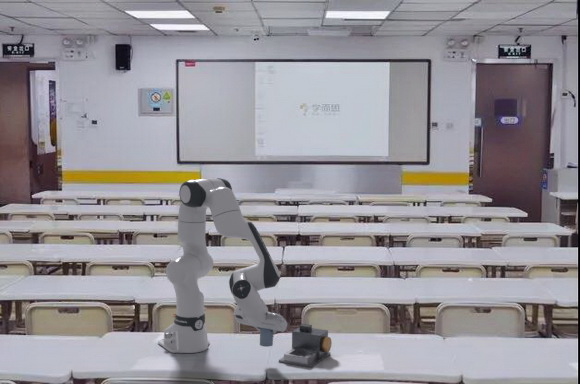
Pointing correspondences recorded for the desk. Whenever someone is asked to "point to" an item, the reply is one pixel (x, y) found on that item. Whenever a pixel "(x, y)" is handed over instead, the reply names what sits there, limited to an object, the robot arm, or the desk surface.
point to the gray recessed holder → (308, 346)
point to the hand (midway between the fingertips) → (267, 330)
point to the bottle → (266, 337)
